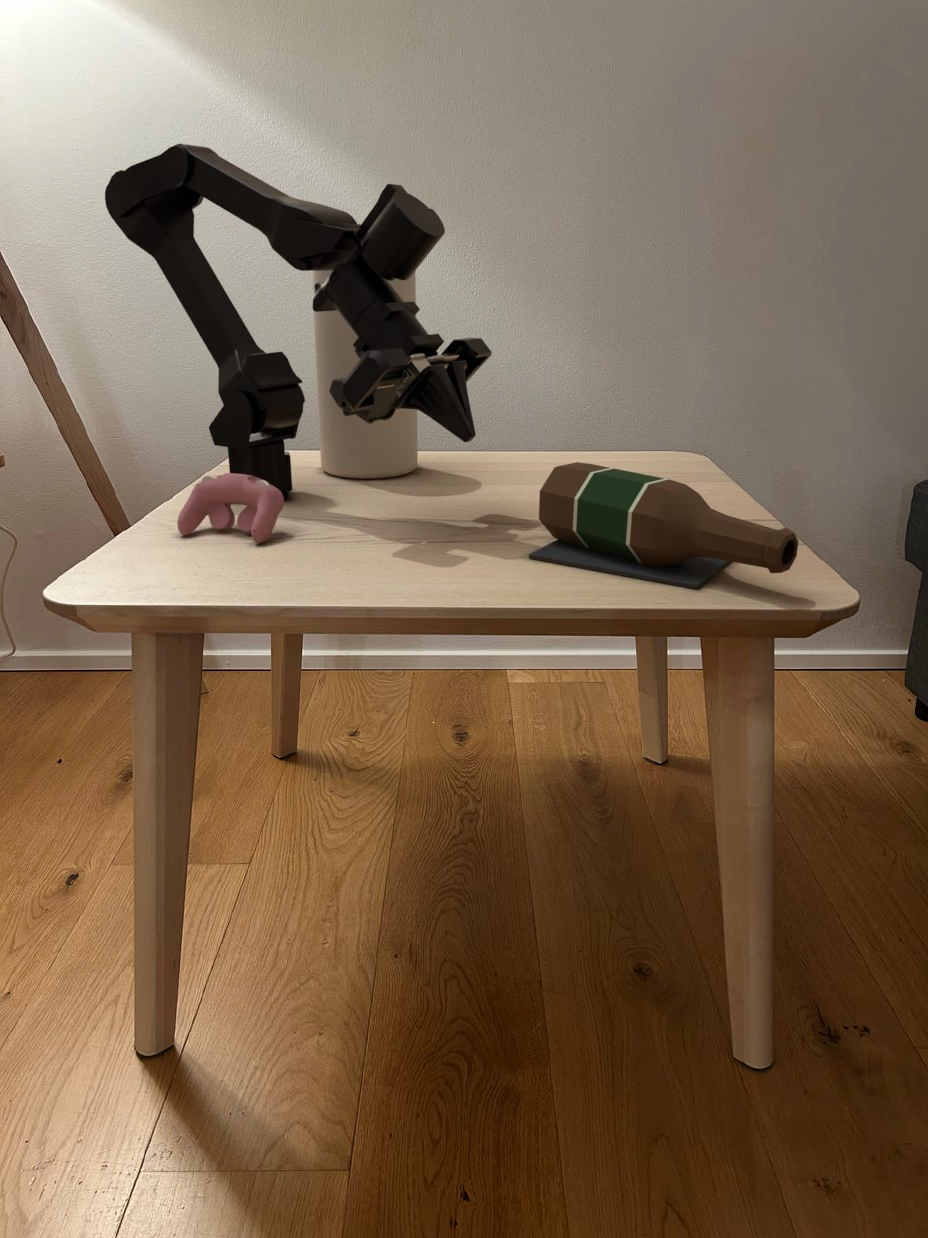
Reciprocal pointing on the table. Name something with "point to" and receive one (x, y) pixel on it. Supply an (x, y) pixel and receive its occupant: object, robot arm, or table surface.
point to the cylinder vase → (349, 438)
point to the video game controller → (233, 489)
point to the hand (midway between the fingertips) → (470, 439)
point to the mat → (631, 565)
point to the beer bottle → (653, 520)
